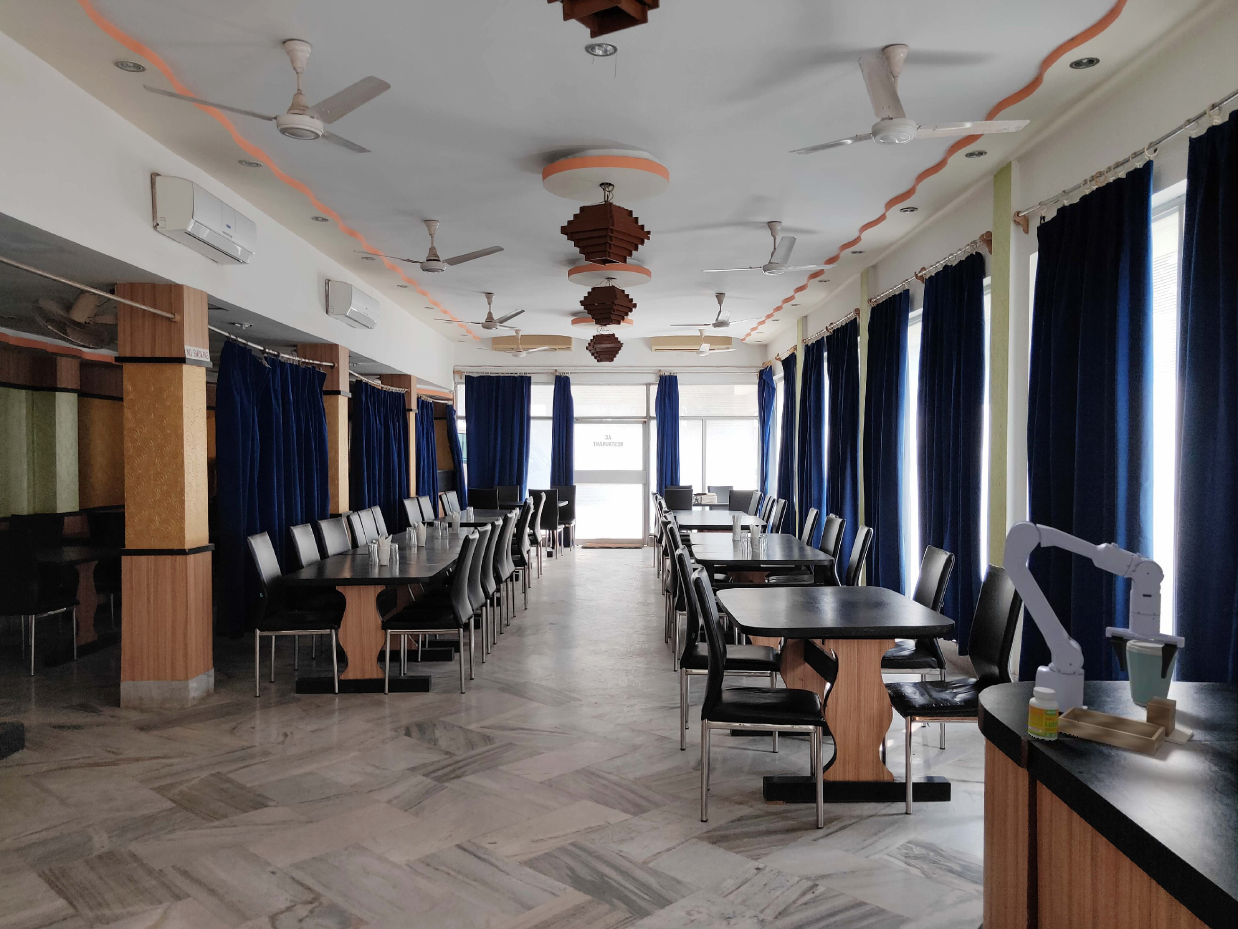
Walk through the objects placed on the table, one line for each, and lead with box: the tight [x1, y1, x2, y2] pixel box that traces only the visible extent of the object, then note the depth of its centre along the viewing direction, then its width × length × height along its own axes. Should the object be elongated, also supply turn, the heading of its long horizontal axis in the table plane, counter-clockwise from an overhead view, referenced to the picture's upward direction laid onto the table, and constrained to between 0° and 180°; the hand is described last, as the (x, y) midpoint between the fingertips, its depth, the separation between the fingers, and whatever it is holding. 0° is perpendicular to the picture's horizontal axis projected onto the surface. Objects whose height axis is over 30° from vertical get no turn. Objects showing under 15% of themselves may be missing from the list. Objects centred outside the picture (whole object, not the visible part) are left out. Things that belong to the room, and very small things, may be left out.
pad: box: [1136, 718, 1194, 746], centre depth 172 cm, size 10×10×1 cm
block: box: [1145, 696, 1177, 737], centre depth 172 cm, size 4×8×6 cm, turn 137°
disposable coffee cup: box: [1126, 639, 1179, 708], centre depth 192 cm, size 11×11×15 cm
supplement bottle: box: [1027, 687, 1059, 741], centre depth 167 cm, size 5×5×10 cm
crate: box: [1058, 706, 1166, 756], centre depth 169 cm, size 17×11×3 cm, turn 47°
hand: (1143, 674), depth 179 cm, fingers open, 7 cm apart
